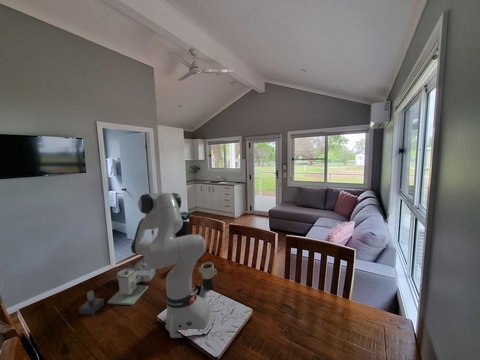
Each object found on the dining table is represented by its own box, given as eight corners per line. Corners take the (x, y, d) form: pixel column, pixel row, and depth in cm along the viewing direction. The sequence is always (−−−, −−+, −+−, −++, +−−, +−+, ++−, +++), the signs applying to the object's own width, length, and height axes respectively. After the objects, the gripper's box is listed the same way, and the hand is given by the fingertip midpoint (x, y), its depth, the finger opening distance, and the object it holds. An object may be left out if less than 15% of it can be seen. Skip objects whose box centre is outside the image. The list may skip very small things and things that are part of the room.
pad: (148, 287, 116) (148, 285, 115) (132, 305, 102) (132, 303, 102) (125, 286, 117) (125, 284, 117) (107, 303, 103) (107, 301, 103)
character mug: (219, 284, 117) (218, 263, 115) (215, 292, 110) (214, 269, 108) (202, 281, 119) (201, 261, 118) (196, 289, 112) (195, 267, 111)
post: (104, 304, 103) (102, 287, 102) (92, 314, 96) (90, 297, 95) (91, 303, 104) (89, 287, 103) (79, 313, 97) (77, 296, 96)
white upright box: (136, 287, 112) (135, 269, 110) (130, 294, 106) (128, 275, 105) (127, 286, 112) (125, 268, 111) (120, 294, 107) (117, 274, 105)
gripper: (125, 263, 122) (108, 276, 109) (157, 264, 120) (143, 278, 106) (126, 273, 123) (109, 287, 109) (157, 274, 121) (144, 289, 107)
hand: (126, 283), depth 108 cm, fingers closed on white upright box, 6 cm apart
